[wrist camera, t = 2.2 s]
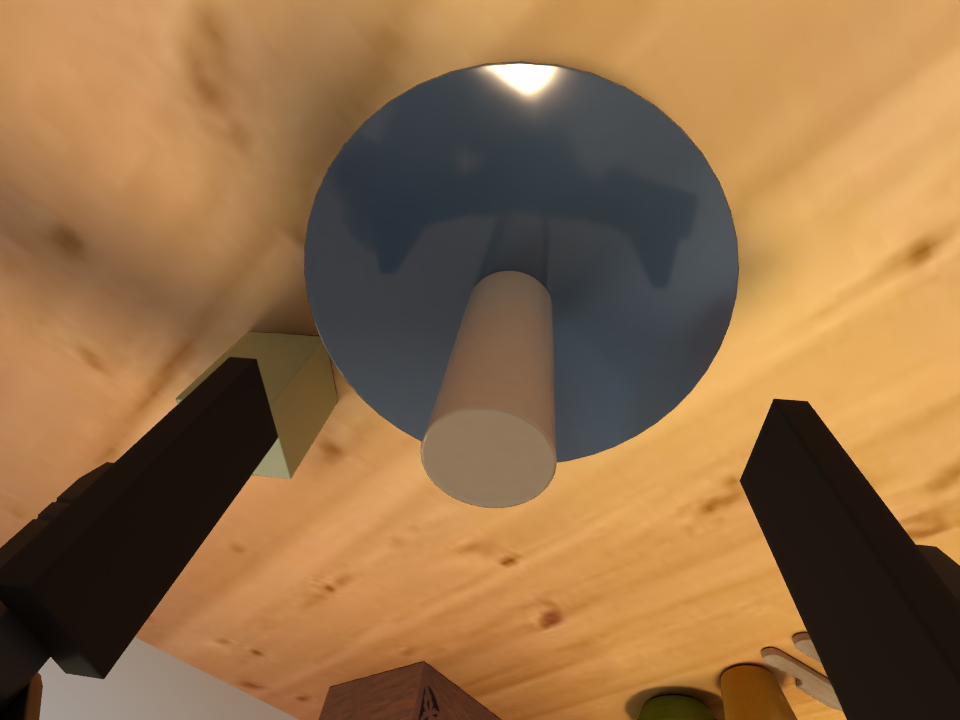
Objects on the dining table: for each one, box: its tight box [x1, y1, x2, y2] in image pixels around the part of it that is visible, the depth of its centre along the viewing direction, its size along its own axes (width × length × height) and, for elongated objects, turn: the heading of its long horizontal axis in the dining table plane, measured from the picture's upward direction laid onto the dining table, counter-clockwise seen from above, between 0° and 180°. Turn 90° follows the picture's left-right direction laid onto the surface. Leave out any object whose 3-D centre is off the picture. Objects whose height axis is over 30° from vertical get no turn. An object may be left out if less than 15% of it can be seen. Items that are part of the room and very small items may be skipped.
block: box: [176, 332, 338, 479], centre depth 28 cm, size 5×5×7 cm
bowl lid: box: [304, 61, 739, 508], centre depth 15 cm, size 16×16×9 cm
